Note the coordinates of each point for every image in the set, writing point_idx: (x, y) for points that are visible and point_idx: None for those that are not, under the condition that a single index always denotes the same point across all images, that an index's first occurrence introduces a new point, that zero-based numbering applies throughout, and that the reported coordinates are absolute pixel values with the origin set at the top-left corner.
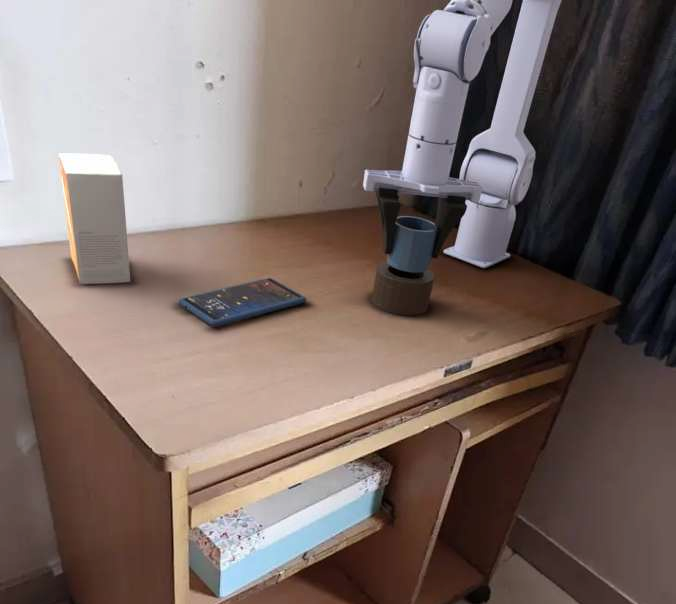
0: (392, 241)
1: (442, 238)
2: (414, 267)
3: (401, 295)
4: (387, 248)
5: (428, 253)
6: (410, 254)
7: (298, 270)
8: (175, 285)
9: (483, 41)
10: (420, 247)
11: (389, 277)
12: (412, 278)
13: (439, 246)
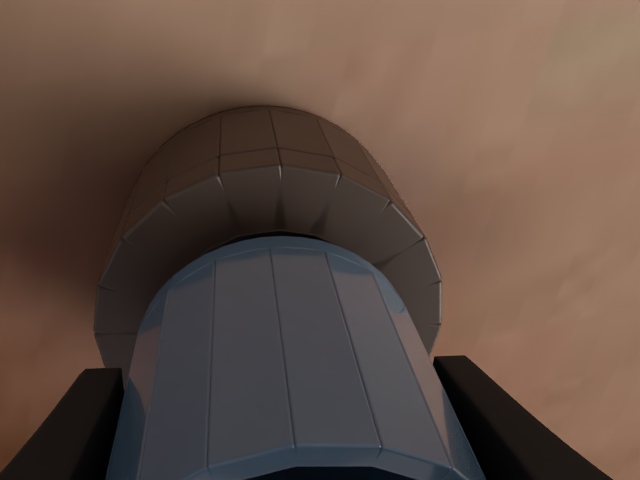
0: (478, 405)
1: (35, 476)
2: (274, 249)
3: (318, 143)
4: (479, 373)
5: (173, 341)
6: (336, 300)
7: (601, 439)
8: None
9: None
10: (268, 342)
11: (408, 224)
12: None
13: (65, 424)
